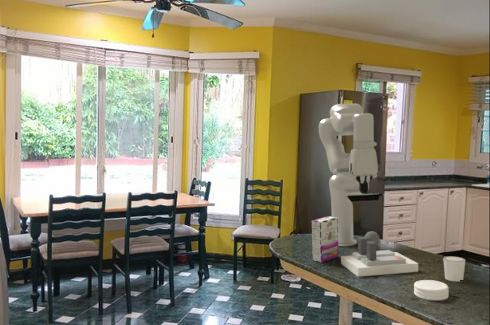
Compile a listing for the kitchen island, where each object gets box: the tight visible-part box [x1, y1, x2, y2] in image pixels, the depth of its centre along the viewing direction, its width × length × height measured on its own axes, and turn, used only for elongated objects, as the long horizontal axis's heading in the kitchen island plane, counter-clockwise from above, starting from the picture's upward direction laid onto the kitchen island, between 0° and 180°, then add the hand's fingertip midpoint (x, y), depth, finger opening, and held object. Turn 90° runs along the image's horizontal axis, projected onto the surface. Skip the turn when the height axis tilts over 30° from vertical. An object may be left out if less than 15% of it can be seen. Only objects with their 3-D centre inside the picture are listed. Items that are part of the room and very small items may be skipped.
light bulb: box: [363, 230, 381, 247], centre depth 189 cm, size 6×6×10 cm
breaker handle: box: [367, 241, 377, 260], centre depth 168 cm, size 3×2×6 cm
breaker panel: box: [340, 236, 419, 277], centre depth 173 cm, size 16×23×10 cm
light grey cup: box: [443, 255, 466, 282], centre depth 158 cm, size 7×7×7 cm
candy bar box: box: [311, 215, 340, 263], centre depth 186 cm, size 11×5×16 cm, turn 131°
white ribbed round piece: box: [413, 279, 450, 302], centre depth 144 cm, size 10×10×4 cm
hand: (363, 193), depth 179 cm, fingers closed
